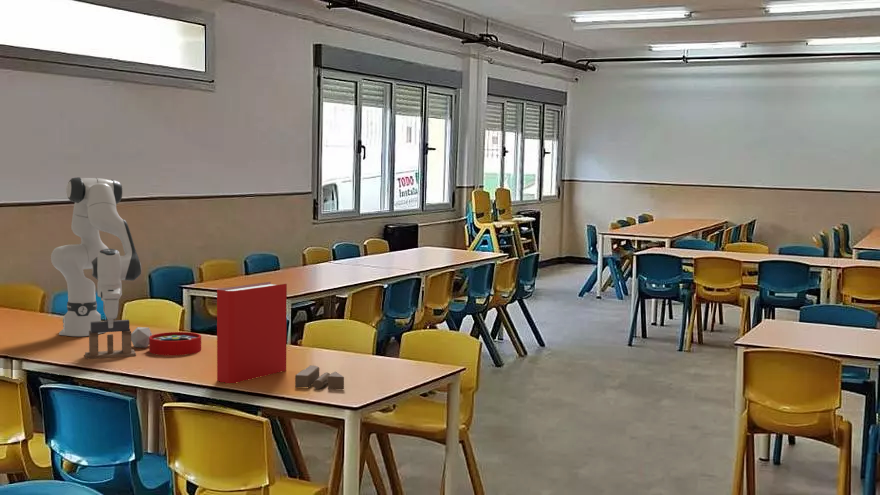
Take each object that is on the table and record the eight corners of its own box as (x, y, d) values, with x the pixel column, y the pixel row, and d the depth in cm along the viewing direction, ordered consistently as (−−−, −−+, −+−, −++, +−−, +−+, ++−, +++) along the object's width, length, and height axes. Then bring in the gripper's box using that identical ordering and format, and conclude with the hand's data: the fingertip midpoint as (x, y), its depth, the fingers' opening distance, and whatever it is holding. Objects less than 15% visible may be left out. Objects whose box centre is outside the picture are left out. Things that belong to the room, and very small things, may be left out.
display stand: (85, 354, 363) (84, 330, 362) (133, 351, 370) (133, 328, 370) (86, 358, 356) (85, 334, 355) (135, 355, 363) (135, 331, 362)
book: (270, 367, 347) (270, 281, 345) (286, 370, 343) (286, 283, 340) (214, 380, 325) (214, 289, 322) (231, 384, 320) (231, 291, 317)
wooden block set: (294, 372, 316) (308, 361, 334) (294, 389, 317) (308, 377, 335) (343, 375, 314) (355, 363, 332) (343, 391, 314) (355, 379, 332)
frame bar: (90, 332, 360) (90, 321, 360) (128, 329, 367) (128, 319, 366) (91, 333, 358) (91, 322, 358) (129, 330, 364) (129, 320, 364)
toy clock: (203, 340, 368) (149, 342, 362) (203, 354, 369) (150, 357, 363) (199, 331, 387) (148, 333, 381) (199, 345, 388) (148, 347, 381)
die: (138, 351, 375) (152, 331, 377) (122, 339, 377) (137, 319, 379) (146, 354, 383) (160, 335, 385) (130, 343, 385) (145, 323, 387)
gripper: (99, 288, 369) (99, 323, 371) (102, 295, 351) (103, 331, 352) (116, 287, 372) (116, 322, 373) (120, 294, 353) (120, 331, 354)
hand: (110, 327), depth 362 cm, fingers closed on frame bar, 3 cm apart
